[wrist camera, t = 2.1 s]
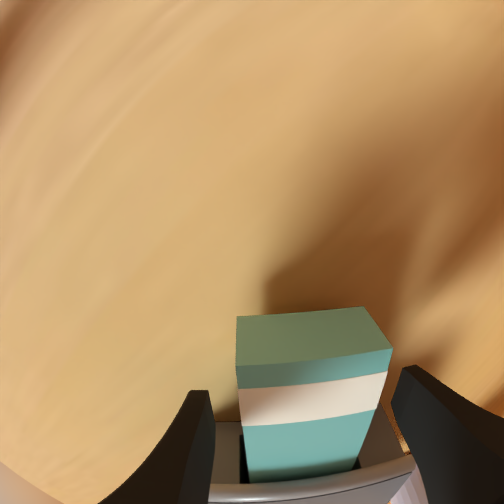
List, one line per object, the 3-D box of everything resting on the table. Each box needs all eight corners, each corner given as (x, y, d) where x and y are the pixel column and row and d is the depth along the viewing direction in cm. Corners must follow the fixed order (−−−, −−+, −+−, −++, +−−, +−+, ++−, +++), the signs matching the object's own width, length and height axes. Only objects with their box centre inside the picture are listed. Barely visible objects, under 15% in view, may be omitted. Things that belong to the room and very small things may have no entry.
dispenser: (383, 394, 15) (417, 464, 9) (353, 470, 18) (369, 523, 13) (193, 413, 14) (181, 495, 9) (216, 484, 18) (214, 541, 12)
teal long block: (363, 305, 11) (394, 348, 8) (323, 482, 16) (330, 513, 13) (236, 316, 11) (234, 366, 8) (254, 489, 16) (255, 522, 13)
